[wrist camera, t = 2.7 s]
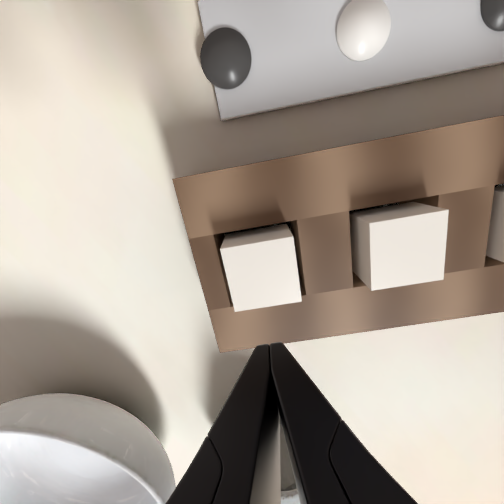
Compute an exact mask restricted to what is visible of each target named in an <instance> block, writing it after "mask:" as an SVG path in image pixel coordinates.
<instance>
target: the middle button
mask: <svg viewBox="0 0 504 504" xmlns="http://www.w3.org/2000/svg"><path fill="white" fill-rule="evenodd" d="M448 213H449V210H448V209H443V208H439V207H434V206H430V205H425V204H421V203H417V202H409V203H403V204H398V205H392V206H386V207H381V208H375V209H369V210H363V211H358V212H352V213H349V221H350V239H351V257H352V271H353V272H354V273H355V274H356V275H357V276H358V277H359V278H360V279H361V280H362V281H363V282H364V283H365V285H366V286H367V287H368V288H369V289H370V290H371V291H373V290H380V289H386V288H393V287H399V286H406V285H412V284H419V283H425V282H432V281H438V280H443V279H444V266H445V253H446V240H447V226H448Z"/></svg>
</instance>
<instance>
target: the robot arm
mask: <svg viewBox="0 0 504 504" xmlns="http://www.w3.org/2000/svg"><path fill="white" fill-rule="evenodd" d="M279 414H280V416H279ZM280 419H281V423H282V428H283V432H284V436H285V441H286V445H287V449H288V453H289V458H290V462H291V466H292V470H293V474H294V479H295V483H296V487H297V491H298V495H299V500H300V504H418V503H417V502H416V501H415V500H414V499H413V498H412V497H411V496H410V495H409V494H408V493H407V492H406V491H405V490H404V489H403V488H402V487H401V486H400V485H399V484H398V482H397V481H396V480H395V479H394V478H393V477H392V476H391V475H390V474H389V473H388V472H387V471H386V470H385V469H384V468H383V467H382V466H381V464H380V463H379V462H378V461H377V460H376V459H375V458H374V457H373V456H372V455H371V454H370V452H369V451H368V450H367V449H366V448H365V447H364V445H363V444H362V443H361V442H360V441H359V439H358V438H357V437H356V436H355V434H354V433H353V432H352V431H351V429H350V428H349V427H348V426H347V424H346V423H345V422H344V421H343V420H342V419H341V417H340V416H339V414H338V413H337V412H336V411H335V409H334V408H333V407H332V405H331V404H330V403H329V402H328V400H327V399H326V398H325V397H324V395H323V394H322V393H321V391H320V390H319V389H318V388H317V386H316V385H315V384H314V382H313V381H312V380H311V379H310V377H309V376H308V375H307V374H306V372H305V371H304V370H303V368H302V367H301V366H300V365H299V363H298V362H297V361H296V359H295V358H294V357H293V356H292V354H291V353H290V352H289V351H288V349H287V348H286V347H285V345H284V344H283V343H282V342H275V343H271V344H270V346H269V344H262V345H257V346H256V348H255V350H254V351H253V353H252V355H251V357H250V359H249V360H248V362H247V364H246V366H245V368H244V369H243V371H242V373H241V375H240V377H239V379H238V380H237V382H236V384H235V386H234V388H233V389H232V391H231V393H230V395H229V397H228V398H227V400H226V402H225V404H224V406H223V408H222V409H221V411H220V413H219V415H218V417H217V418H216V420H215V422H214V424H213V426H212V427H211V429H210V431H209V433H208V436H207V437H206V438H205V440H204V442H203V444H202V445H201V447H200V449H199V451H198V452H197V454H196V456H195V458H194V459H193V461H192V463H191V464H190V466H189V468H188V470H187V471H186V473H185V474H184V476H183V477H182V479H181V481H180V482H179V484H178V485H177V487H176V488H175V490H174V491H173V493H172V494H171V496H170V497H169V499H168V500H167V502H166V503H165V504H281V474H280Z"/></svg>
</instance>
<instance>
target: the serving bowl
mask: <svg viewBox="0 0 504 504" xmlns="http://www.w3.org/2000/svg"><path fill="white" fill-rule="evenodd" d="M175 488H176V486H175V479H174V473H173V470H172V466H171V463H170V460H169V458H168V455H167V453H166V451H165V450H164V448H163V446H162V444H161V443H160V441H159V440H158V438H157V437H156V436H155V435H154V433H153V432H152V431H151V430H150V429H149V428H148V427H147V426H146V425H145V424H144V423H143V422H141V421H140V420H139V419H138V418H136V417H135V416H133V415H132V414H130V413H129V412H127V411H125V410H124V409H122V408H120V407H118V406H116V405H113V404H111V403H109V402H106V401H103V400H100V399H97V398H93V397H89V396H84V395H77V394H65V393H51V394H40V395H33V396H28V397H23V398H19V399H15V400H12V401H9V402H6V403H3V404H0V504H165V503H166V502H167V500H168V499H169V497H170V496H171V494H172V493H173V491H174V490H175Z"/></svg>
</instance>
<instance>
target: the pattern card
mask: <svg viewBox="0 0 504 504" xmlns="http://www.w3.org/2000/svg"><path fill="white" fill-rule="evenodd" d="M198 6H199V11H200V16H201V21H202V26H203V31H204V36H205V41H204V43H203V45H202V48H201V56H200V58H201V66H202V69H203V72H204V74H205V76H206V77H207V79H208V80H209V81H210V82H211V83H212V84H213V85H214V87H215V92H216V97H217V102H218V107H219V112H220V117H221V120H222V121H224V120H229V119H234V118H239V117H244V116H248V115H253V114H258V113H263V112H268V111H273V110H278V109H282V108H287V107H292V106H297V105H302V104H307V103H312V102H317V101H321V100H326V99H331V98H336V97H341V96H346V95H351V94H355V93H360V92H365V91H370V90H375V89H380V88H385V87H389V86H394V85H399V84H404V83H409V82H414V81H419V80H424V79H428V78H433V77H438V76H443V75H448V74H453V73H458V72H462V71H467V70H472V69H477V68H482V67H487V66H492V65H497V64H501V63H504V0H200V1H198Z"/></svg>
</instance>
